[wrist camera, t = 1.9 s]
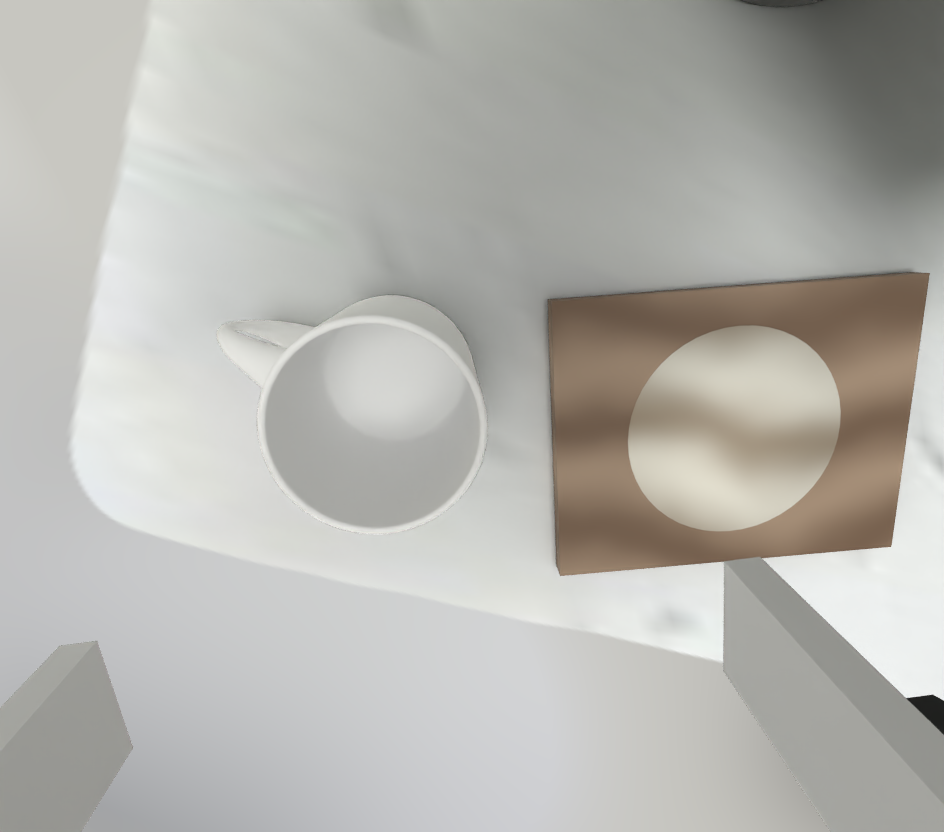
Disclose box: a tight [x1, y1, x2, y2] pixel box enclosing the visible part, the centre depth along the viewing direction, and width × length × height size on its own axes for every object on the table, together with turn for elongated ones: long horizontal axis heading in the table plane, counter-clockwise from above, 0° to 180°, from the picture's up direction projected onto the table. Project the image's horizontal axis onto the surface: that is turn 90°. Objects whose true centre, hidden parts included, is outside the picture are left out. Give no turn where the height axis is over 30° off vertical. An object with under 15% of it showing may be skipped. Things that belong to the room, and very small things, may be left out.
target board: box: [548, 272, 930, 576], centre depth 34 cm, size 16×20×1 cm
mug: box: [217, 295, 488, 534], centre depth 27 cm, size 9×12×11 cm
